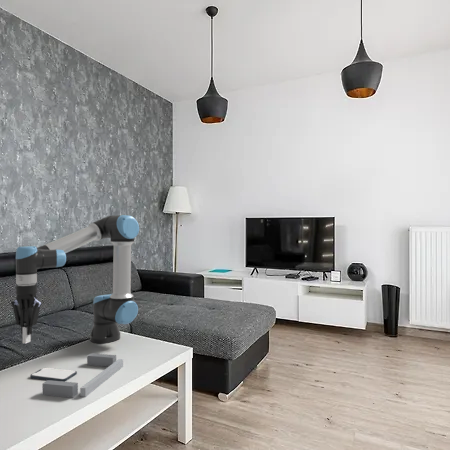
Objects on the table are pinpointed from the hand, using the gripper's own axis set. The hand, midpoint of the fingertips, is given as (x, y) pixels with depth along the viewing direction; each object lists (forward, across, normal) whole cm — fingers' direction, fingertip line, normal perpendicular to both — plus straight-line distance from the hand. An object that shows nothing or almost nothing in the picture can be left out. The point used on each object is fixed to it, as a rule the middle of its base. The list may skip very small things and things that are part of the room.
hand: (26, 342), depth 151 cm
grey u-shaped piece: (+12, +27, 0) cm, 30 cm away
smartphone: (+13, +12, 0) cm, 18 cm away
